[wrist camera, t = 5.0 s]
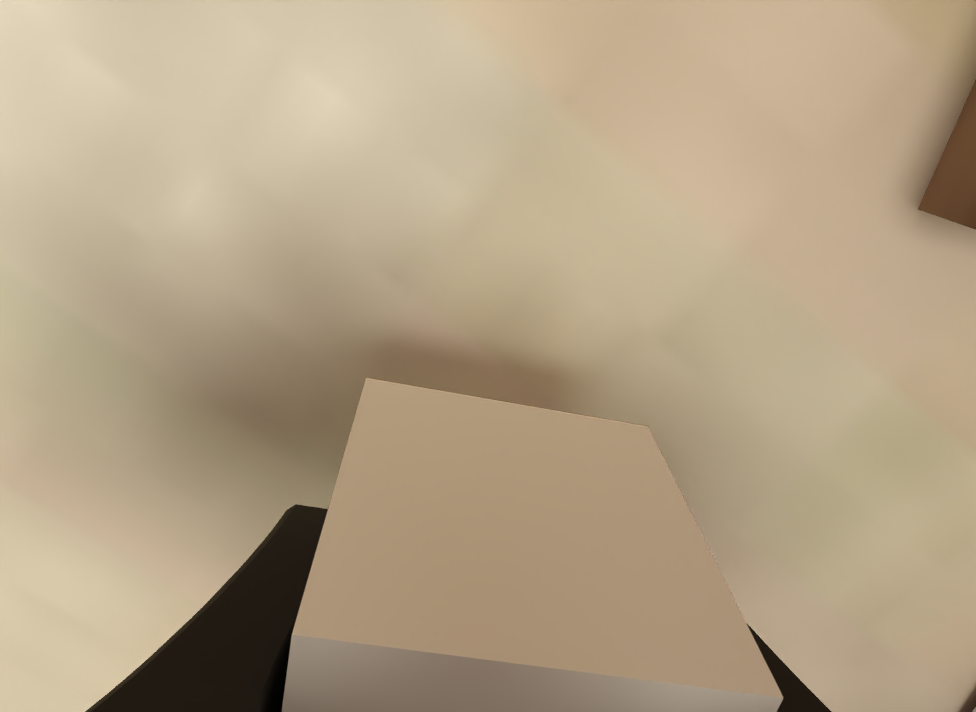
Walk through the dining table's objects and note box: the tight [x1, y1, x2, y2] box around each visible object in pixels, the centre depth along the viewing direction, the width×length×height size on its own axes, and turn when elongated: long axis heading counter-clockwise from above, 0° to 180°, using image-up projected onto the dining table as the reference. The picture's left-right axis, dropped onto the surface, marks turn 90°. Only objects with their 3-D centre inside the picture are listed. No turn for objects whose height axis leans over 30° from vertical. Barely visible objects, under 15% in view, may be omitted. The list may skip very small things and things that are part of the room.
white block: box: [282, 378, 783, 712], centre depth 9 cm, size 4×4×5 cm
